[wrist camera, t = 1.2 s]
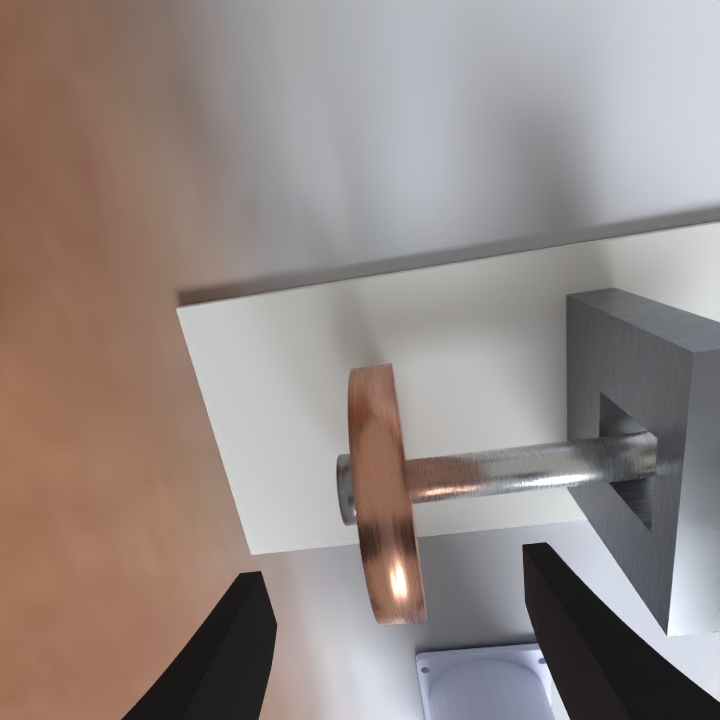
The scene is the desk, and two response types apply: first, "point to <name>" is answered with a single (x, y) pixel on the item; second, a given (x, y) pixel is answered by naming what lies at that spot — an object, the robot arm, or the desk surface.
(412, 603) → the bolt with copper washer
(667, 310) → the square hole plate
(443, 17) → the desk surface
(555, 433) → the base board
